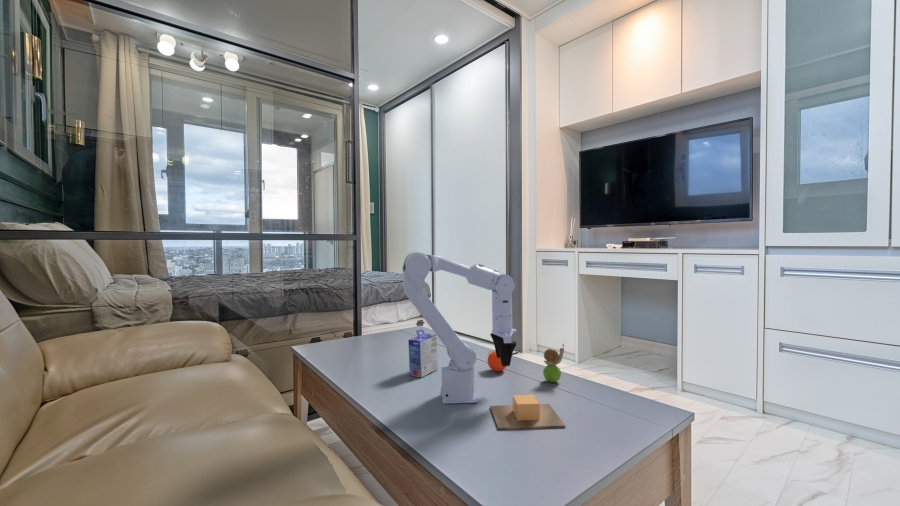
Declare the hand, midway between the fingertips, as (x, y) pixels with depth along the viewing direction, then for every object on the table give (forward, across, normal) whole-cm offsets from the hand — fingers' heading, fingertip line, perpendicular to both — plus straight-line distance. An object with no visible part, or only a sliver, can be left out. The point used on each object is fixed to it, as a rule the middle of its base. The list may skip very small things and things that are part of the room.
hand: (503, 361), depth 109 cm
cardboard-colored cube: (+9, -15, -2) cm, 18 cm away
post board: (+9, -15, -2) cm, 18 cm away
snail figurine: (+10, +8, -18) cm, 22 cm away
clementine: (+10, +20, -2) cm, 22 cm away
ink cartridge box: (+9, +20, +24) cm, 32 cm away
